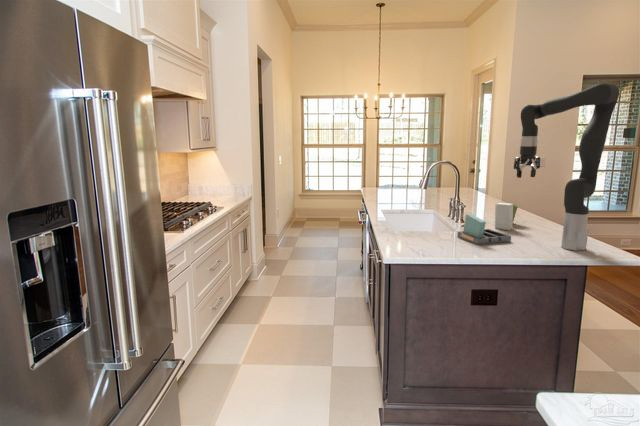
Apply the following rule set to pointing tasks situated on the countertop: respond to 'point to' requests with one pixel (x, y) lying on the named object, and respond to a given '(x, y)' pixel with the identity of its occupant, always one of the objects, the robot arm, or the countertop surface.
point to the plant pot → (514, 210)
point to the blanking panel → (474, 226)
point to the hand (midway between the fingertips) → (525, 177)
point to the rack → (486, 237)
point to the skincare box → (504, 216)
